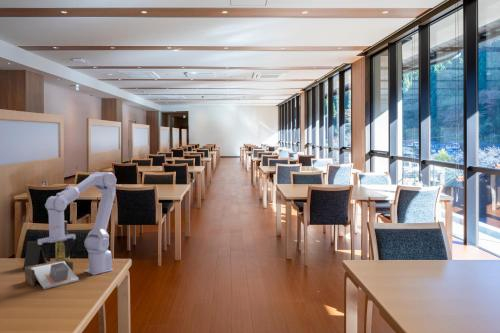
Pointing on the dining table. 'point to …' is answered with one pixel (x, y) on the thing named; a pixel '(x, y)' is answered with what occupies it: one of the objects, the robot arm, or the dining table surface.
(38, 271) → the trapdoor
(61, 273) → the stone
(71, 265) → the trapdoor frame
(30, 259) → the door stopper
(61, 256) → the sauce bottle
